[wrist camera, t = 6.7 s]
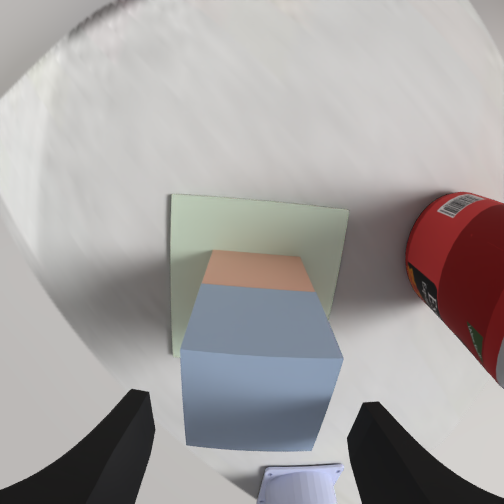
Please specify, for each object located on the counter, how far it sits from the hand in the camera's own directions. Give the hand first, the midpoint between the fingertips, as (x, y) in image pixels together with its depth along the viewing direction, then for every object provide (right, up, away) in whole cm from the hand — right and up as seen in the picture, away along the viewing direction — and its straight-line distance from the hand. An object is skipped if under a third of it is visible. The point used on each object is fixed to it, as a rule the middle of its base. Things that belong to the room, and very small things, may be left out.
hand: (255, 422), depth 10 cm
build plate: (0, +3, +10) cm, 10 cm away
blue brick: (0, +2, +5) cm, 5 cm away
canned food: (+13, +6, +9) cm, 17 cm away
